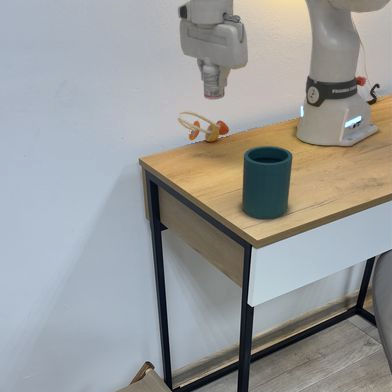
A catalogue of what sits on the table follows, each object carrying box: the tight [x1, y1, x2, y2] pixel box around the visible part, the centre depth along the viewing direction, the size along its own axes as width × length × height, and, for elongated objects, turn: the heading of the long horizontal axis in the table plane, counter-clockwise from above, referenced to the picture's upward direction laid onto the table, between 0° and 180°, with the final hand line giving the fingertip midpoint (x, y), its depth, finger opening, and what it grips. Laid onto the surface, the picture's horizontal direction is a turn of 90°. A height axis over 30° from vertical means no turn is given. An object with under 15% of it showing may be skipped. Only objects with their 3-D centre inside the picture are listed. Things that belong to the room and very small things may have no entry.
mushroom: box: [177, 110, 230, 142], centre depth 130 cm, size 7×8×15 cm
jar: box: [241, 145, 294, 220], centre depth 98 cm, size 9×9×11 cm
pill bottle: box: [202, 56, 225, 101], centre depth 110 cm, size 5×5×8 cm
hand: (213, 83), depth 111 cm, fingers closed on pill bottle, 5 cm apart
